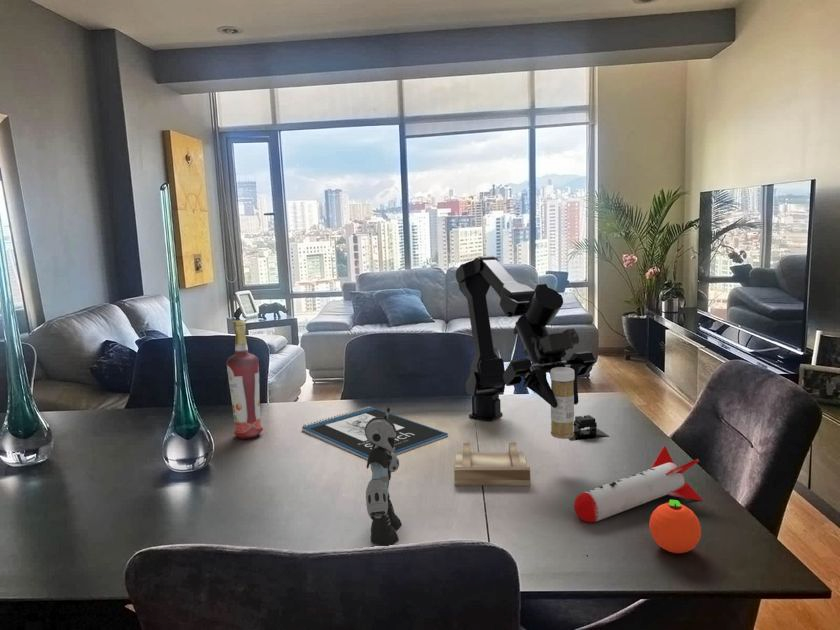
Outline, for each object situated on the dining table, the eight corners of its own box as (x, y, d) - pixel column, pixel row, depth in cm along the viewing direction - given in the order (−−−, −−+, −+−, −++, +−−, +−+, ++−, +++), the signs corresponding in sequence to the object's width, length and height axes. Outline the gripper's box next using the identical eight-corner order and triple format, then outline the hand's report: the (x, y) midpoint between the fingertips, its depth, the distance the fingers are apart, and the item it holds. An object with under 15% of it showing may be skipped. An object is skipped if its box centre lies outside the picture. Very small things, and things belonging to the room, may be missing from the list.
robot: (378, 503, 103) (373, 394, 100) (406, 503, 103) (401, 393, 100) (360, 567, 84) (352, 433, 81) (394, 567, 84) (387, 432, 81)
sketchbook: (374, 466, 122) (374, 456, 122) (300, 432, 144) (299, 424, 144) (448, 438, 136) (447, 429, 136) (370, 411, 158) (369, 404, 158)
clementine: (646, 531, 91) (647, 488, 90) (695, 536, 89) (696, 492, 88) (650, 559, 83) (651, 512, 82) (704, 566, 81) (706, 517, 80)
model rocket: (549, 493, 101) (572, 467, 93) (650, 458, 110) (678, 432, 103) (582, 554, 95) (609, 531, 88) (686, 512, 104) (719, 488, 97)
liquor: (269, 436, 140) (260, 321, 136) (239, 443, 136) (229, 324, 132) (257, 428, 146) (248, 318, 142) (228, 435, 142) (218, 321, 138)
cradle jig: (456, 456, 123) (455, 443, 123) (523, 456, 122) (523, 442, 122) (454, 485, 110) (454, 470, 109) (530, 485, 108) (530, 469, 108)
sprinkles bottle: (565, 430, 118) (565, 365, 116) (578, 437, 114) (579, 370, 112) (545, 433, 116) (545, 367, 114) (558, 441, 112) (558, 373, 110)
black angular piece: (602, 429, 138) (603, 410, 138) (618, 440, 131) (619, 420, 131) (553, 434, 136) (553, 415, 135) (566, 445, 129) (566, 425, 128)
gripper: (509, 319, 112) (539, 390, 104) (591, 312, 118) (626, 377, 110) (491, 352, 121) (517, 419, 112) (569, 343, 127) (600, 406, 118)
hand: (566, 405), depth 113 cm, fingers closed on sprinkles bottle, 4 cm apart
